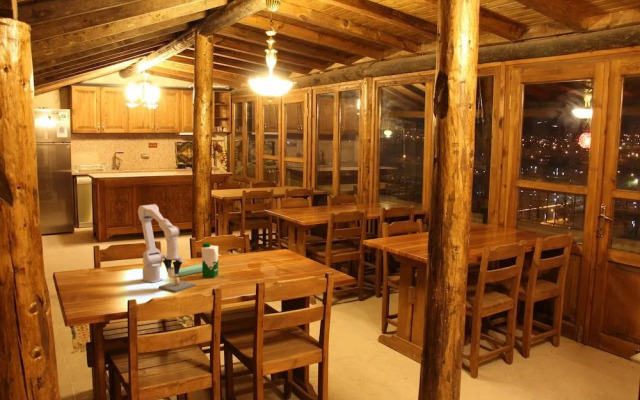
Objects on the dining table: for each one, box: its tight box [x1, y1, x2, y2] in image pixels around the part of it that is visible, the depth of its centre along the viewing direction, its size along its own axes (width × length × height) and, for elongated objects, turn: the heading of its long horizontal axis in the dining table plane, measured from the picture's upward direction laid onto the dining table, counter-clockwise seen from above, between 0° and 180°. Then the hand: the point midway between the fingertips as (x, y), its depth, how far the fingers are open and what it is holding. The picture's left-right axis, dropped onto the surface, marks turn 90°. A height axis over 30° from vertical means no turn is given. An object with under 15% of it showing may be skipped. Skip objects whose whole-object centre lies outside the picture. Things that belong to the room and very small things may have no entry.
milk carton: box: [200, 242, 219, 279], centre depth 331 cm, size 9×9×20 cm
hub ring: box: [167, 266, 178, 278], centre depth 307 cm, size 5×5×4 cm
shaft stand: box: [158, 277, 196, 293], centre depth 309 cm, size 13×15×5 cm
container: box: [174, 263, 202, 278], centre depth 338 cm, size 6×6×25 cm
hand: (172, 272), depth 308 cm, fingers closed on hub ring, 5 cm apart
